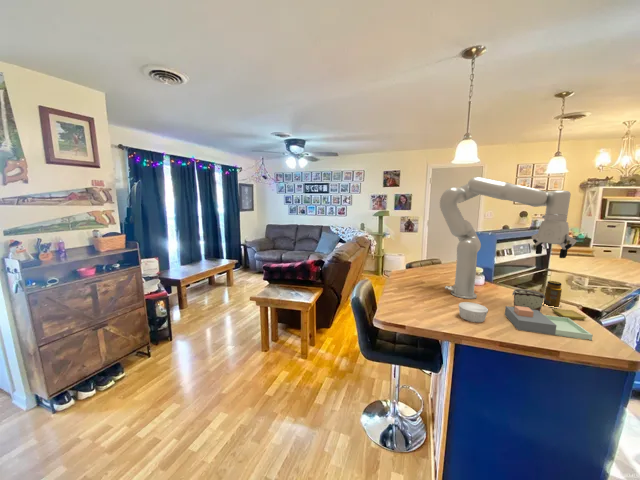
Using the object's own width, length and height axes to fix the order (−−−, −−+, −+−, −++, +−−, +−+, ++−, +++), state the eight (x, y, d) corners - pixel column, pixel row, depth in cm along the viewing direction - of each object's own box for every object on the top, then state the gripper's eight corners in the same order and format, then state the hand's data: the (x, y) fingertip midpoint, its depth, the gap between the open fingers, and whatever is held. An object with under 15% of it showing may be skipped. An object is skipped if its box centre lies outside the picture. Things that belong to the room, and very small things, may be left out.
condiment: (562, 306, 132) (565, 282, 131) (556, 309, 128) (560, 285, 126) (544, 301, 138) (547, 279, 137) (538, 304, 134) (541, 281, 132)
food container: (537, 311, 125) (539, 290, 124) (543, 316, 119) (545, 294, 118) (506, 307, 129) (508, 287, 128) (510, 311, 123) (513, 291, 122)
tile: (518, 315, 109) (518, 309, 109) (513, 311, 114) (514, 305, 113) (532, 317, 107) (533, 311, 107) (527, 312, 112) (528, 307, 112)
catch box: (555, 335, 101) (555, 329, 101) (536, 318, 116) (537, 313, 116) (591, 340, 97) (592, 334, 97) (568, 322, 112) (568, 317, 112)
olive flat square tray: (563, 320, 116) (564, 315, 116) (550, 312, 125) (551, 308, 124) (586, 322, 115) (587, 317, 114) (572, 314, 123) (572, 309, 123)
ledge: (517, 329, 105) (519, 320, 104) (504, 314, 120) (505, 306, 119) (555, 335, 101) (556, 325, 101) (536, 318, 116) (537, 310, 116)
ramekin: (475, 325, 108) (476, 313, 107) (451, 315, 118) (452, 303, 118) (493, 321, 113) (494, 309, 112) (469, 311, 123) (470, 300, 122)
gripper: (529, 217, 126) (524, 252, 128) (573, 219, 110) (567, 260, 112) (540, 217, 128) (535, 252, 130) (585, 219, 112) (578, 259, 114)
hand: (550, 255), depth 121 cm, fingers open, 9 cm apart
